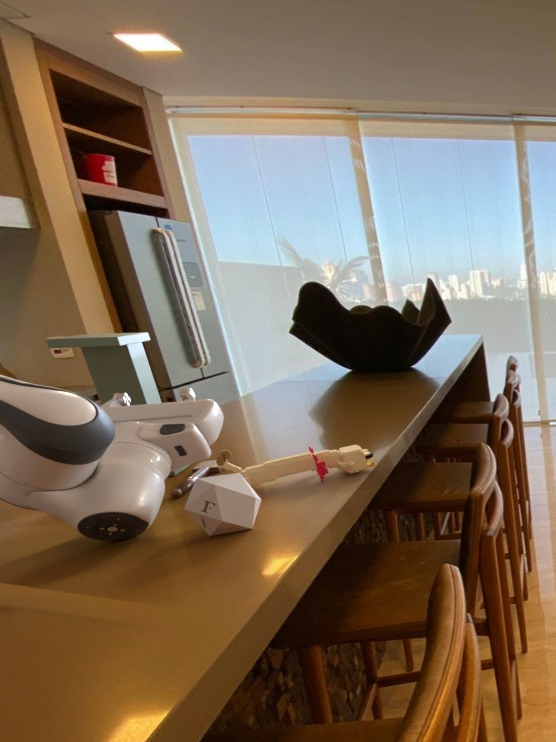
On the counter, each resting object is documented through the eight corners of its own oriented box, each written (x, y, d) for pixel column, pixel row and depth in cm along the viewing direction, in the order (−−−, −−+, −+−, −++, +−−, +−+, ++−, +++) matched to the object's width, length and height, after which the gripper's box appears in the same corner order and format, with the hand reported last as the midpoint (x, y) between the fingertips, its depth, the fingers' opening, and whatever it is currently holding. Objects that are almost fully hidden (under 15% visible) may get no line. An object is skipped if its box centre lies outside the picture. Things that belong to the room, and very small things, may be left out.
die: (186, 536, 84) (159, 498, 76) (225, 491, 89) (204, 451, 81) (244, 554, 85) (224, 519, 77) (279, 508, 90) (263, 471, 82)
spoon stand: (95, 485, 104) (37, 339, 95) (130, 465, 116) (81, 333, 107) (172, 478, 108) (124, 336, 98) (198, 459, 120) (157, 331, 110)
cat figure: (229, 508, 96) (383, 470, 108) (209, 459, 92) (370, 425, 104) (229, 492, 103) (372, 458, 116) (210, 446, 100) (360, 416, 112)
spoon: (191, 497, 97) (188, 489, 97) (160, 501, 96) (157, 492, 95) (229, 464, 116) (227, 456, 115) (204, 466, 115) (202, 459, 114)
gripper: (68, 472, 87) (92, 413, 95) (221, 456, 93) (232, 402, 101) (40, 443, 82) (68, 383, 90) (204, 428, 88) (216, 373, 96)
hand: (156, 393), depth 96 cm, fingers open, 8 cm apart
